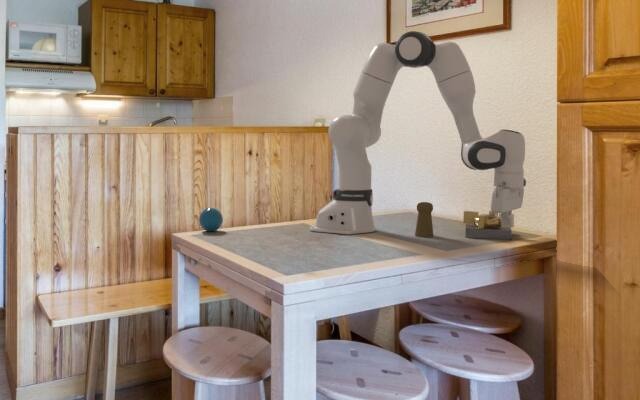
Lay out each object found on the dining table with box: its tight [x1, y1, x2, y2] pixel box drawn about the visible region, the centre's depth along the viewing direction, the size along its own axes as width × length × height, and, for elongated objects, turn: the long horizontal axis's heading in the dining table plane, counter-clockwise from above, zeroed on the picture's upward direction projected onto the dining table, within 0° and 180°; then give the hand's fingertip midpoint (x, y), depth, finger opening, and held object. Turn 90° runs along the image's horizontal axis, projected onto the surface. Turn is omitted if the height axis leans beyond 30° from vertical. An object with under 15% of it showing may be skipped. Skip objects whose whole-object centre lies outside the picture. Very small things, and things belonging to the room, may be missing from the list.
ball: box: [198, 207, 224, 233], centre depth 194 cm, size 8×8×8 cm
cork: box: [414, 201, 434, 238], centre depth 187 cm, size 6×6×11 cm
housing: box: [464, 223, 513, 241], centre depth 189 cm, size 14×13×3 cm
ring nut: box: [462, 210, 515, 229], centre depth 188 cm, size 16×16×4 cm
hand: (505, 224), depth 184 cm, fingers closed
